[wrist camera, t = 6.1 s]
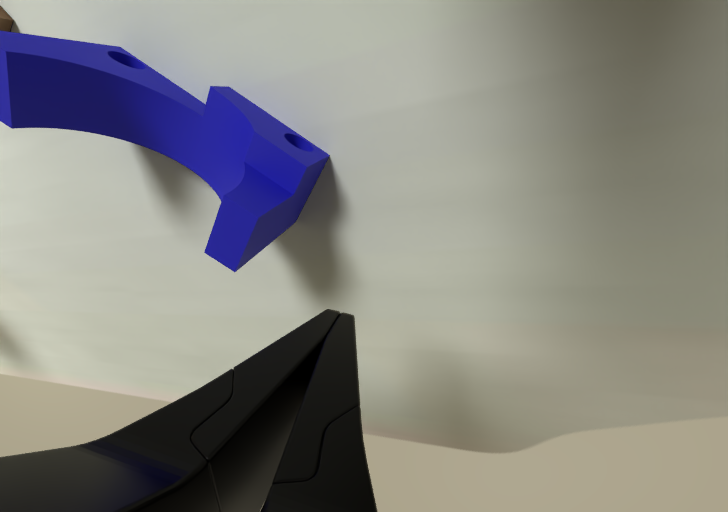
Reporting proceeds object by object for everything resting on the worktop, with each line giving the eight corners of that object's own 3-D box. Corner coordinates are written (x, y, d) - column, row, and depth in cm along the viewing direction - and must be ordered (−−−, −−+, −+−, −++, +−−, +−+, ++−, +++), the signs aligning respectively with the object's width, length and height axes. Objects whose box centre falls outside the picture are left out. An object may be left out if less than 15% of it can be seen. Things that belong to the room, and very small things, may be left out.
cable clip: (330, 155, 16) (272, 184, 11) (296, 221, 18) (234, 272, 13) (126, 15, 15) (-39, -24, 10) (116, 102, 18) (-22, 107, 13)
